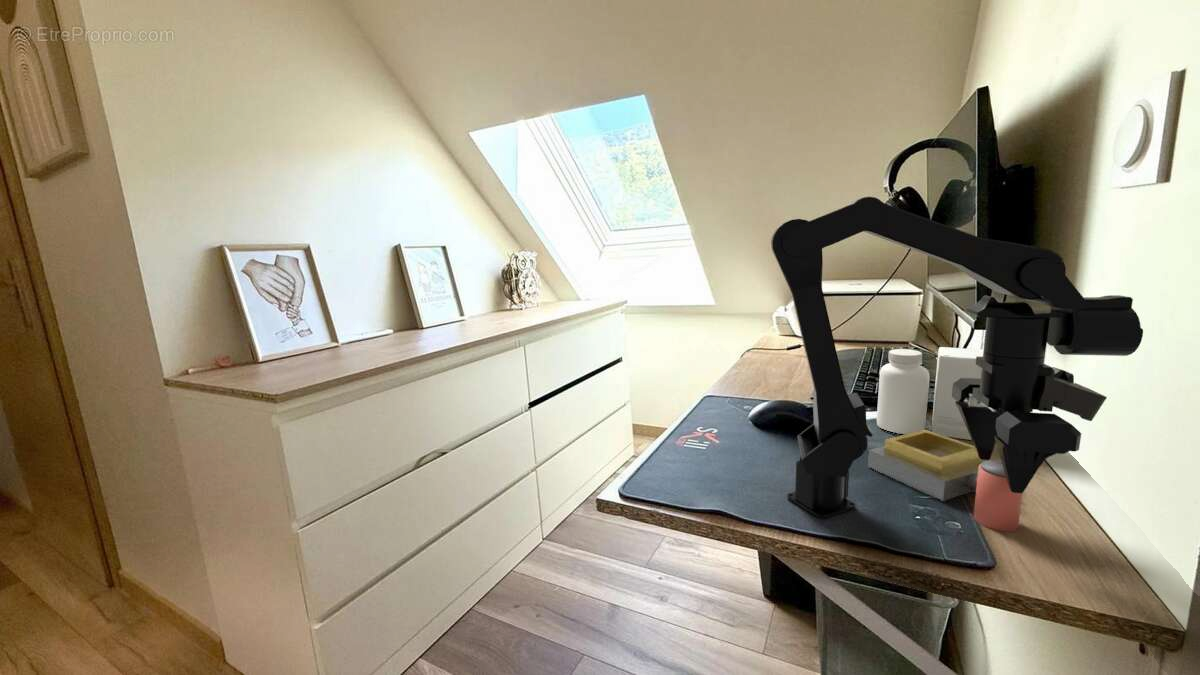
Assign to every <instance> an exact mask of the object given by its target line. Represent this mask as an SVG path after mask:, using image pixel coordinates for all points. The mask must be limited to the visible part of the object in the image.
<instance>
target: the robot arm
mask: <svg viewBox="0 0 1200 675" xmlns="http://www.w3.org/2000/svg"><path fill="white" fill-rule="evenodd" d="M862 232H863V233H867V234H868V235H869V234H870V235H872V236H874V237H877V238H880V239H882V240H885V241H887V242H890V243H893V244H896V245H898V246H901V247H904V248H907V249H910V250H913V251H914V252H918V253H920V254H923V255H926V256H929V257H930V258H934V259H936V260H939V261H942V262H944V263H947V264H950V265H952V266H954V267H955V268H957V269H958V270H960V271H962V272H963V273H965V274H966V276H967V275H968V277H970V278H972V279H973V280H975V281H977V282H978V283H980V284H982V285H983V286H986V287H987V288H989V289H991V291H993V292H996V293H999V294H1004V295H1007V296H1011V297H1015V298H1020V299H1024V300H1026V301H1028V302H1029V301H1030V302H1033V303H1038V304H1042V305H1046V306H1050V309H1033V308H1032V306H1031V305H1030V304H1029V303H1028V302H1025V301H998V300H997V299H996V297H993V296H989V295H983V296H982V297H981V298H980V300H979V301H977V302H975V303H974V304H972V305H971V306H969V307H967V308H966V313H967V314H969V315H971V316H975V317H978V318H986V322H985V333H984V341H983V342H984V343H983V350H984V351H983V357H977V356H976V365H978V366H979V367H981V368H982V370H981V379H978V378H960V379H959V380H957V381H956V382H955V383H953V387H952V397H953V398H954V399H955V400H957V401H956V402H955V404H956V406H957V407H958V409H959V411H960V414H961V416H962V418H963V421H964V423H965V425H966V427H967V430H968V432H969V434H970V437H971V439H972V440H971V442H972V444H973V446H974V447H975V449H976V451H977V454H978V456H979V458H980V459H981V460H991V457H992V454H993V453H994V449H995V446H996V449H997V451H998V455H999V457H1000V462H1002V465H1003V469H1004V472H1005V475H1006V479H1007V482H1008V485H1009V488H1010V490H1011V491H1012V492H1013V493H1022V494H1023V493H1024V492H1025V491H1026V489H1027V487H1028V486H1029V484H1030V482H1031V481H1032V479H1033V478H1034V476H1035V475H1036V473H1037V471H1038V470H1039V468H1041V466H1042V464H1043V463H1044V462H1045V460H1046V459H1049V457H1052V456H1055V455H1057V454H1058V455H1065V454H1067V453H1069V452H1077V451H1079V450H1080V445H1081V438H1082V432H1081V431H1080V430H1078V428H1076V427H1075V426H1074V425H1073V424H1072V423H1071V422H1068V421H1066V420H1065V419H1063V418H1062V417H1061V416H1058V415H1057V414H1055V413H1051V412H1053V409H1054V408H1056V409H1059V410H1061V411H1065V412H1068V413H1070V414H1074V415H1077V416H1079V417H1080V418H1081V419H1082V420H1086V421H1089V422H1092V421H1093V419H1094V418H1095V417H1096V415H1097V414H1098V412H1099V410H1100V409H1101V407H1102V406H1103V405H1104V403H1105V401H1106V400H1107V399H1108V398H1107V396H1105V395H1103V394H1101V393H1099V392H1097V391H1095V390H1092V389H1091V388H1088V387H1086V386H1083V385H1081V384H1079V383H1076V382H1075V381H1074V380H1075V377H1074V374H1073V373H1072V372H1069V371H1066V370H1064V369H1060V368H1057V367H1054V366H1050V365H1047V364H1046V363H1045V359H1046V352H1047V344H1048V345H1049V346H1051V347H1054V350H1055V351H1056V352H1058V354H1060V355H1064V356H1065V355H1068V356H1070V355H1071V356H1073V355H1074V356H1110V357H1111V356H1112V357H1113V356H1114V357H1115V356H1117V357H1118V356H1119V357H1123V356H1125V357H1126V356H1130V355H1132V354H1133V353H1135V352H1136V350H1138V349H1139V347H1140V345H1141V343H1142V339H1143V336H1144V329H1143V328H1142V327H1141V326H1142V325H1141V321H1140V318H1139V315H1138V314H1137V312H1136V311H1135V309H1134V308H1132V307H1133V300H1134V299H1133V297H1131V296H1125V295H1117V294H1116V295H1115V294H1114V295H1113V294H1111V295H1103V296H1099V297H1098V296H1097V297H1094V296H1093V297H1091V296H1090V297H1084V296H1083V295H1082V294H1081V293H1080V291H1079V290H1078V289H1077V288H1076V286H1075V285H1074V284H1073V283H1072V281H1070V279H1069V278H1068V276H1067V275H1066V269H1067V267H1066V265H1065V262H1064V259H1065V258H1063V256H1062V255H1061V254H1060V253H1058V252H1056V251H1054V250H1053V249H1050V248H1045V247H1039V246H1034V245H1028V244H1023V243H1017V242H1010V241H1005V240H1004V241H1003V240H997V239H991V238H985V237H979V236H977V235H975V234H971V233H969V232H966V231H963V230H960V229H958V228H955V227H952V226H948V225H946V224H944V223H941V222H938V221H935V220H932V219H929V218H927V217H924V216H921V215H918V214H915V213H913V212H910V211H907V210H905V209H901V208H899V207H895V206H893V205H891V204H888V203H886V202H883V201H882V200H880V199H879V198H878V197H874V196H865V197H862V198H858V199H856V200H854V201H852V202H851V203H850V204H849V205H846V206H843V207H841V208H838V209H836V210H833V211H832V212H828V213H826V214H823V215H821V216H818V217H817V218H816V217H815V218H814V219H811V220H807V219H804V218H802V219H801V218H795V219H791V220H788V221H786V222H784V223H782V224H781V225H779V226H778V227H777V228H776V229H775V230H774V232H773V233H772V236H771V240H770V246H771V250H772V253H773V256H774V258H775V260H776V262H777V265H778V267H779V269H780V272H781V273H782V275H783V278H784V280H785V282H786V284H787V287H788V288H789V291H790V293H791V298H792V301H793V305H794V309H795V313H796V318H797V322H798V327H799V331H800V335H801V339H802V340H801V341H802V343H803V348H804V353H805V357H806V360H807V365H808V370H809V372H810V373H809V374H810V378H811V381H812V386H813V401H812V402H813V404H812V407H813V408H812V411H813V412H812V413H813V423H811V424H810V426H808V427H807V428H806V429H804V430H803V431H801V433H799V434H798V435H797V440H798V446H799V451H800V454H801V456H800V457H799V460H797V461H796V462H795V489H794V491H793V492H789V493H787V494H786V498H787V499H788V500H789V501H791V502H793V503H794V504H796V505H797V506H799V507H800V508H802V509H804V510H806V512H809V513H811V514H812V515H814V516H815V517H817V518H819V519H825V518H829V517H831V516H835V515H838V514H841V513H844V512H848V511H851V510H854V509H856V503H855V502H854V501H851V500H850V499H848V496H849V476H850V471H849V470H850V468H851V466H852V464H853V463H854V461H856V460H857V459H859V458H860V457H862V455H863V454H865V452H867V451H868V450H867V449H868V445H869V444H868V443H869V442H868V437H869V438H871V437H873V435H874V434H873V433H872V432H871V430H870V428H869V426H868V424H867V408H866V405H865V404H864V402H863V400H862V399H861V397H860V396H859V394H858V392H853V393H850V394H848V393H847V390H846V387H845V383H844V380H843V375H842V374H843V373H842V370H841V365H840V361H839V357H838V351H837V348H836V343H835V341H834V335H833V331H832V326H831V322H830V317H829V313H828V309H827V304H826V301H825V296H824V291H823V269H824V268H823V265H824V264H823V263H824V262H823V260H824V259H823V249H824V248H827V247H829V246H833V245H835V244H838V243H839V242H841V241H844V240H847V239H849V238H850V237H851V238H852V237H853V236H856V235H858V234H860V233H862ZM1034 410H1036V411H1040V412H1034ZM1042 412H1043V413H1042ZM1045 412H1046V413H1045ZM1047 412H1049V413H1047Z"/></svg>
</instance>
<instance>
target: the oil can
mask: <svg viewBox="0 0 1200 675" xmlns="http://www.w3.org/2000/svg"><path fill="white" fill-rule="evenodd" d="M1022 498H1023V493H1013V492H1012V491H1011V490H1010V488H1009V485H1008V482H1007V479H1006V475H1005V472H1004V469H1003V465H1002V462H1001V460H999V461H998V460H991V461H984V462H982V463H981V464H980V465H979V467H978V477H977V487H976V492H975V500H974V508H973V519H974V520H975V522H977V523H978V524H979V525H982V527H983V526H984V527H986V528H989V529H990V530H995V531H999V532H1008V533H1009V532H1015V531H1018V530H1019V526H1020V525H1019V524H1020V518H1021V507H1022V502H1023V501H1022V500H1023V499H1022Z"/></svg>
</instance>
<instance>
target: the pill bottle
mask: <svg viewBox="0 0 1200 675" xmlns="http://www.w3.org/2000/svg"><path fill="white" fill-rule="evenodd" d="M887 357H888V363H886V364H884V365H883V366H882V367H881V368H880V371H879V378H878V379H879V381H878V396H877V398H878V399H877V408H876V410H877V411H876V412H877V413H876V424H877V427H878V426H879V427H880V428H882V429H884V430H887V431H891V432H896V433H902V434H909V433H913V432H916V431H920V430H924V429H925V428H926V424H927V423H926V421H927V410H928V399H929V388H930V378H931V377H930V372H929V370H928V369H927V368H926V367H924V366H922V365H923V353H922V352H921V351H919V350H915V349H908V348H907V349H905V348H896V349H895V348H894V349H890V350H889V351H888V356H887ZM879 427H878V428H879ZM880 428H879V429H880ZM882 429H881V430H882ZM884 430H883V431H884ZM925 430H926V429H925ZM887 431H886V432H887Z"/></svg>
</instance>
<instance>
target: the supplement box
mask: <svg viewBox="0 0 1200 675" xmlns="http://www.w3.org/2000/svg"><path fill="white" fill-rule="evenodd" d="M983 351H984V349H982V348H981V349H979V348H978V349H976V348H963V347H946V346H945V347H944V346H940V347H939V348H938V352H937V353H938V354H937V362H936V373H935V382H934V383H935V385H934V393H933V394H934V395H933V406H932V408H933V409H932V421H931V422H932V427H931V432H934V433H937V434H940V435H943V436H946V437H949V438H953V439H961V440H969V441H972V439H971V437H970V434H969V432H968V430H967V427H966V425H965V423H964V421H963V418H962V416H961V414H960V411H959V409H958V407H957V406H956V404H955V402H956V401H957V400H955V399H954V398H953V397H952V387H953V383H955V382H956V381H957V380H959V379H960V378H978V379H981V370H982V368H981V367H979V366H978V365H976V356H977V357H983Z"/></svg>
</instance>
